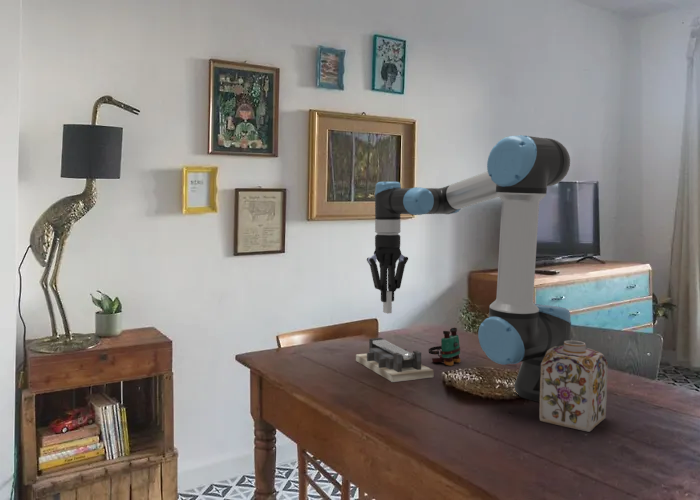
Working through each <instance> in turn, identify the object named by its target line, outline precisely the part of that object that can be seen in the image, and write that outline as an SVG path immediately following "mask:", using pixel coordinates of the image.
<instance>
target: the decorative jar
mask: <svg viewBox="0 0 700 500" xmlns="http://www.w3.org/2000/svg"><path fill="white" fill-rule="evenodd" d="M608 364H609V362H608V361H607V359H606V357H605V355H604V354H603V353H602V352H600V351H598V350H596V349H593V348H588V347H587V345H586V343H585V342H583V341H580V340H570V341H564V346H555V347H552V348H550V349H549V350H547V352H546V354H545V357H544V358H543V361H542V363H541V378H540V402H539V410H538V411H539V421H540V422H543V423H547V424H551V425H554V426H555V425H556V426H559V427H563V428H569V429H570V428H571V429H575V430H579V431H583V432H588V433H590V432H591V431H593V429H595V428H596V426H599V424H600V423H601V422H602V421H604V420H605V419H606V415H607V399H608V398H607V395H608V392H607V391H608Z"/></svg>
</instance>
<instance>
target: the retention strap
mask: <svg viewBox="0 0 700 500" xmlns="http://www.w3.org/2000/svg"><path fill="white" fill-rule="evenodd" d="M373 344H375V345H377V346H379V347H381V348H382V349H384V350H386V351H388V352H390V353H392V354H393V355H394V353H399V354H401V355H402V360H411V359H415V354H414V353H413V352H411V351H408V350H407V351H406V350H404V349H405V348H402V347H400V346H398V345H395V344H394V343H392V342H390V341H388V340H386V339H383V340H374V341H373Z"/></svg>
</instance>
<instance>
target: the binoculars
mask: <svg viewBox="0 0 700 500" xmlns="http://www.w3.org/2000/svg"><path fill="white" fill-rule="evenodd" d="M457 331H458V328H457V327H451V328H450V330H443V331H442V333H443V336H444V337H442V338H441V339H440V340H441V342H440V343H441V345H438V346H433V347H430V348H428V354H430V355H437V356H438V357H432V358H431V359H432V363H443V364H444V365H445V366H450V367H451V366H454V363H461V361H462V360H461V358H460V354H461V345H460V337H459V334H458V333H457ZM450 334H451V335H450Z"/></svg>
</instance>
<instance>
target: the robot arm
mask: <svg viewBox="0 0 700 500" xmlns="http://www.w3.org/2000/svg"><path fill="white" fill-rule="evenodd" d="M570 165H571V157H570V154H569V151H568V149H567V148H566V147H565V145H564V144H562V143H561V142H559V141H558V140H556V139H553V138H547V137H538V136H529V135H521V134H520V135H509V136H506V137H503V138H502V139H500V140H499V141H497V143H496V144H495V145H494V146H493V148H492V149H491V150H490V152H489V155H488V157H487V162H486V170H487V171H486V172H485V171H484V172H482V173H480V174H477V175H474V176H471V177H468V178H466V179H463V180H460V181H456V182H454V183H452V184H450V185H449V184H448V185H447V186H443V187H440V188H436V187H435V188H434V187H433V188H432V187H431V188H430V187H418V186H417V187H408V188H407V187H406V188H405V187H404V188H402V187H401V183H400V181H378V182H377V183H375V193H374V206H375V207H374V217H375V219H374V221H375V222H374V230H375V231H374V232H375V233H376V234H375V236H374V246H375V247H374V252H373V255H371V256H370V257H367V258H366V262H367V263H368V265H369V268H370V272H371V277H372V281H373V285H374V288H375V290H379V291H380V301H381V303H382V306H383V307H382V312H383V313H385V314H392V312H393V310H392V307H393V306H392V305H393V304H392V302H394V301H395V292H396V291H397V290H398V289H399V290H400V288H401V284H402V280H403V276H404V271H405V268H406V264H407V263H408V261H409V257H408V256H405V255H403V254H402V251H401V248H400V247H401V235H400V233H401V220H402V219H401V215H413V216H421V215H451V214H457V213H459V212H460V210H461V209H464V208H467V207H471V206H474V205H477V204H480V203H483V202H487V201H489V200H494V199H496V198H499V199H500V201H501V207H500V208H501V211H500V228H499V229H500V230H499V243H498V244H499V247H498V248H499V249H498V263H497V281H496V282H497V284H496V297H495V298H496V299H495V300H494V301H493V302H491V304H489V310H488V311H489V312H488V317H487V318H485V319H484V320H483V321H482V322H481V323H480V325H479V328H478V333H477V337H478V342H479V346H480V348H481V349H482V351H483V352H484V353H485V355H486V357H488V359H490V360H491V361H492V362H494V363H496V364H499V365H501V366H502V365H503V366H504V365H516V364H519V363H521V364H520V368H519V370H518V373H517V377H516V379H515V381H514V388H515V390H516V392H517V393H518V395H519V397H520V398H522V399H525V400H530V401H534V402H539V403H540V378H541V363H542V361H543V358H544V357H545V354H546V352H547V350H549V349H550V348H552V347H555V346H564V341H571V327H572V321H571V311H570V310H569V309H567V308H565V307H561V306H557V305H556V306H555V305H549V304H540V303H534V294H535V293H534V291H535V276H536V275H535V274H536V259H537V258H536V257H537V244H538V243H537V242H538V229H539V227H538V226H539V212H540V202H541V200H543V199H544V198H545V197H546V196H547V191H548V187H552V186H555V185H556V184H558V183H559V184H560V182H561V181H563V180H564V178H566V176H567V175H568V172H569V171H570ZM377 262H378V263H379V269H378V265H377ZM396 265H397V266H396ZM518 395H517V396H518Z"/></svg>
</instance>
